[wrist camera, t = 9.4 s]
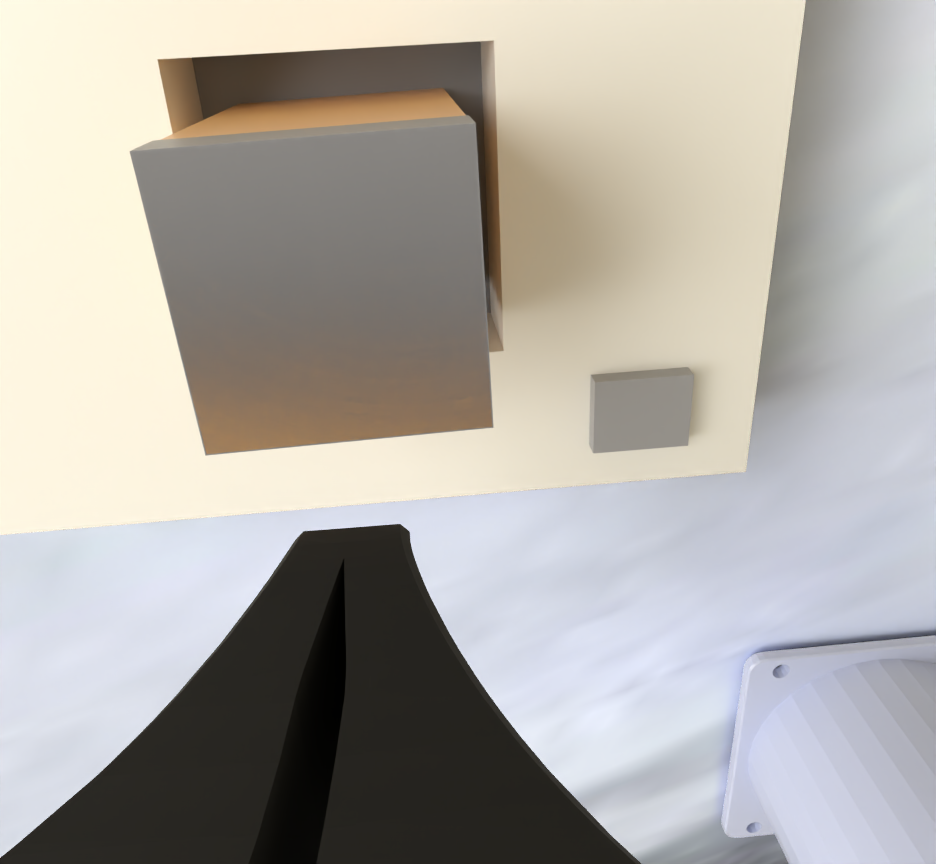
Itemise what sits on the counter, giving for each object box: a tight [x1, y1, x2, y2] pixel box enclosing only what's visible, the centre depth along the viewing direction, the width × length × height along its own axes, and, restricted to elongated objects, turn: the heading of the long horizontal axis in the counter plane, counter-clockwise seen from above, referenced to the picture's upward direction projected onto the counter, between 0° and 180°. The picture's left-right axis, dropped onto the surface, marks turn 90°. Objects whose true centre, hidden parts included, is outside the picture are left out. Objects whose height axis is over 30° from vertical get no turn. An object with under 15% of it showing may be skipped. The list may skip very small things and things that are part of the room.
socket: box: [0, 0, 806, 535], centre depth 15 cm, size 16×12×3 cm
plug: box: [130, 88, 494, 456], centre depth 13 cm, size 4×4×7 cm
